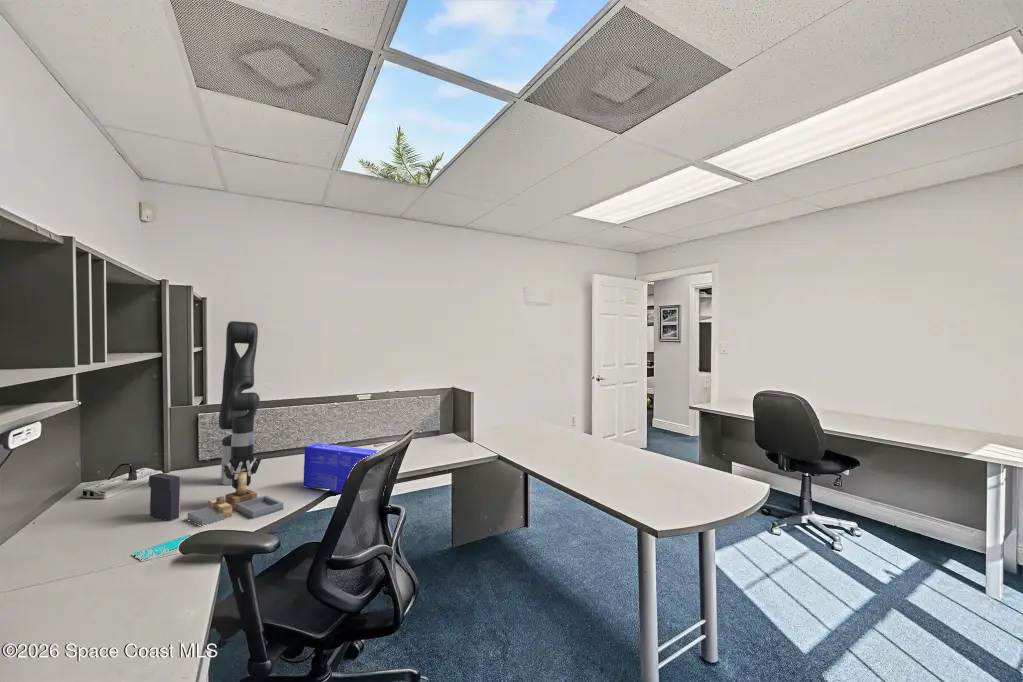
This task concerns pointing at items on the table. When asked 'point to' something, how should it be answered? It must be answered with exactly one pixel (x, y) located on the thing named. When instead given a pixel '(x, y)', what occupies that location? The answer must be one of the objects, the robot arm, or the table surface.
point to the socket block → (239, 498)
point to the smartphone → (170, 545)
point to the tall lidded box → (164, 496)
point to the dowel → (242, 483)
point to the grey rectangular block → (206, 516)
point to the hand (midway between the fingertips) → (241, 486)
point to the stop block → (221, 506)
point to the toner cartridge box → (330, 465)
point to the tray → (259, 506)
